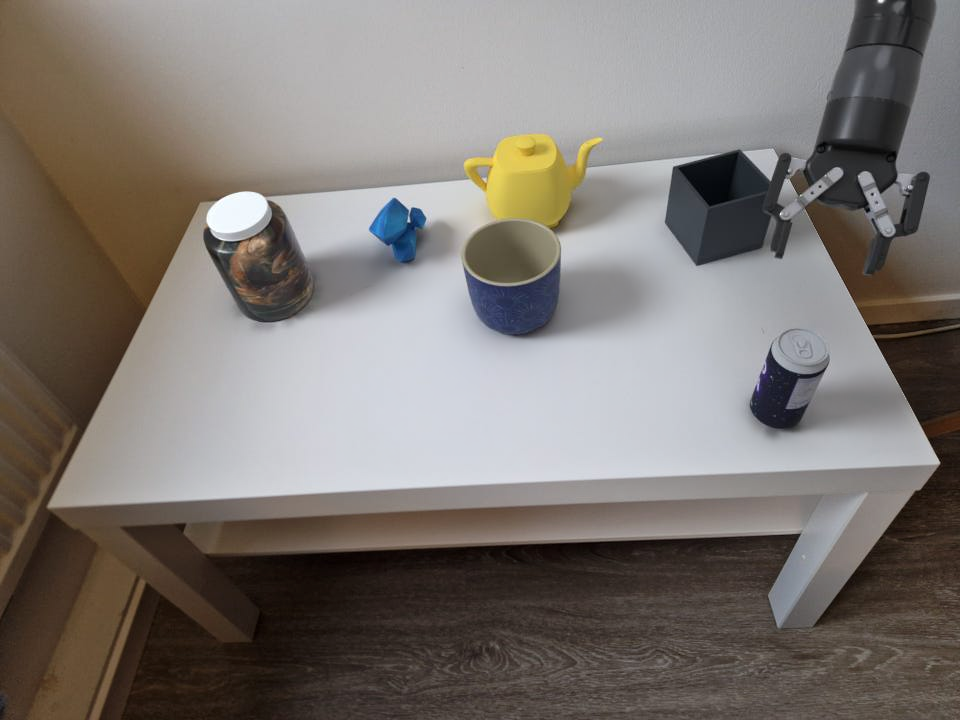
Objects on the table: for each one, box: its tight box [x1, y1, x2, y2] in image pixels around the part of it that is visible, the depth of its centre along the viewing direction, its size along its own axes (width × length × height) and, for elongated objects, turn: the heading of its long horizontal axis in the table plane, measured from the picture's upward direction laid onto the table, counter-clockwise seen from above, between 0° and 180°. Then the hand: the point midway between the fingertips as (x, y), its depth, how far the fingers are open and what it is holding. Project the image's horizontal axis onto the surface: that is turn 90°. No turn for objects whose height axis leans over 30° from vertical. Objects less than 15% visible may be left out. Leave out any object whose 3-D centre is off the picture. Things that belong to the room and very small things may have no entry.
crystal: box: [368, 197, 427, 263], centre depth 97 cm, size 7×9×12 cm
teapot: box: [463, 133, 603, 229], centre depth 98 cm, size 13×20×12 cm
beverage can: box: [749, 327, 831, 430], centre depth 72 cm, size 6×6×12 cm
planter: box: [460, 218, 562, 335], centre depth 86 cm, size 12×12×11 cm
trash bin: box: [664, 149, 772, 266], centre depth 92 cm, size 10×10×10 cm
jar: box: [202, 191, 315, 323], centre depth 92 cm, size 12×12×15 cm
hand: (822, 266), depth 68 cm, fingers open, 8 cm apart
